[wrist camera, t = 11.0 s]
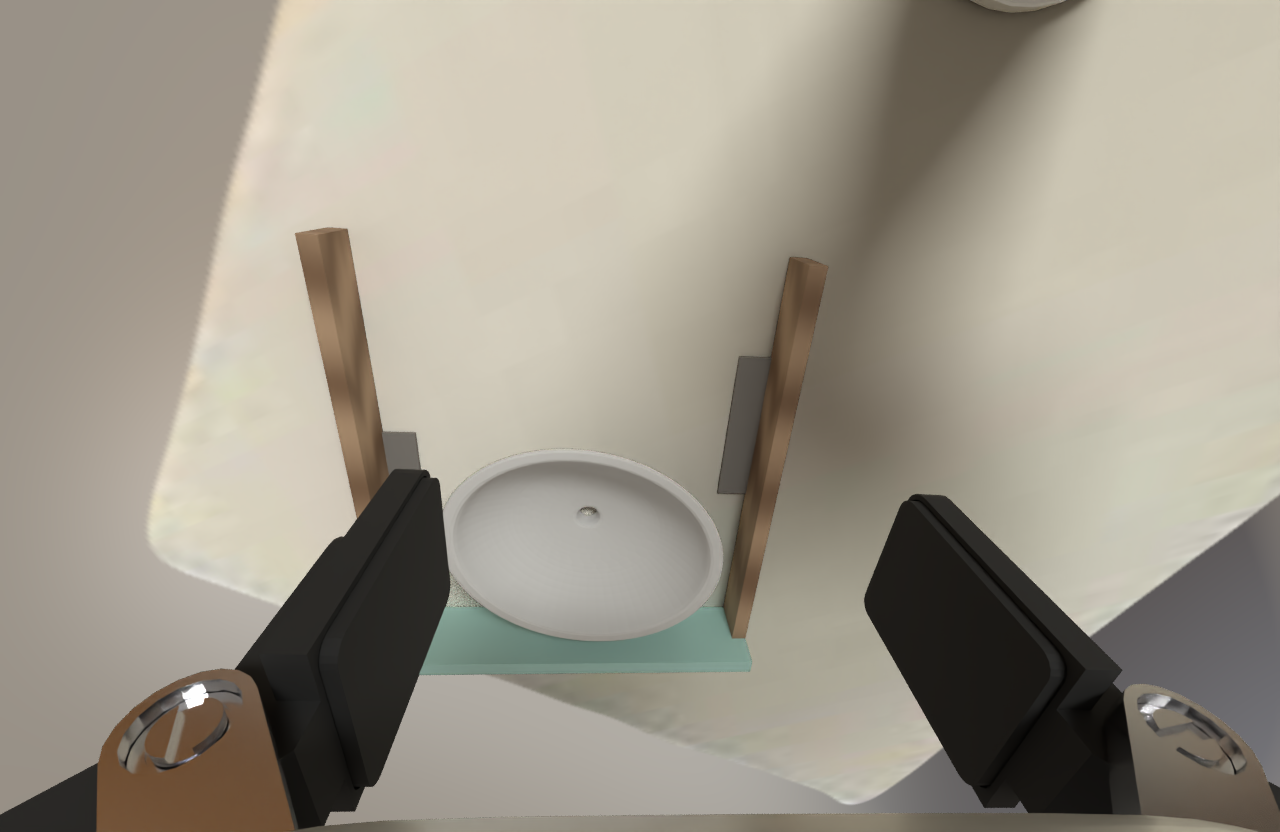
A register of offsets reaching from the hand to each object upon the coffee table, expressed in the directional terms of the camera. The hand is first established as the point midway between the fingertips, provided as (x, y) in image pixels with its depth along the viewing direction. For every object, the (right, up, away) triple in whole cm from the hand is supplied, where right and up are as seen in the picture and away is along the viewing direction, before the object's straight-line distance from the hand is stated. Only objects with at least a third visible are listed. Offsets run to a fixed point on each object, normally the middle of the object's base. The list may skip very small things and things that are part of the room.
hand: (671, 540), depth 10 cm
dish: (-4, -4, +25) cm, 25 cm away
